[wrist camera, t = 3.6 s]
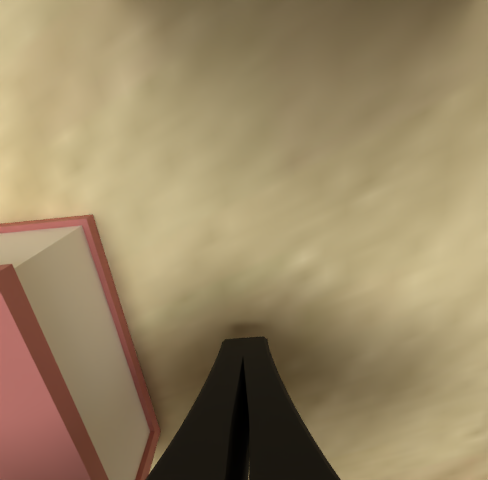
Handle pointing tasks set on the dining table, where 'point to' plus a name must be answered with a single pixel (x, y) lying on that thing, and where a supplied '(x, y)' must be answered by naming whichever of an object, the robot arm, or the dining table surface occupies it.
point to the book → (67, 360)
